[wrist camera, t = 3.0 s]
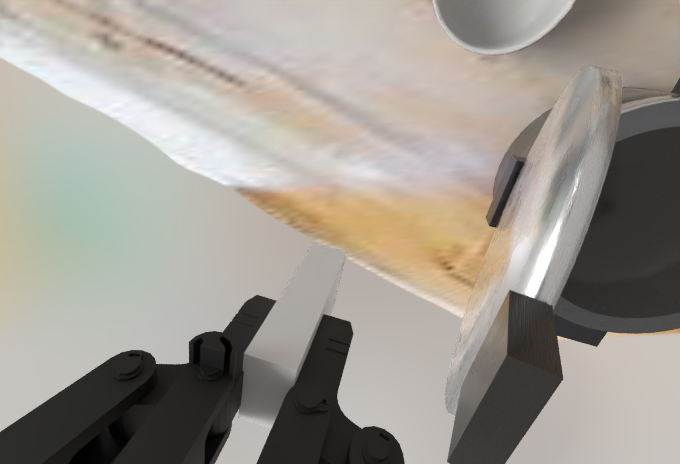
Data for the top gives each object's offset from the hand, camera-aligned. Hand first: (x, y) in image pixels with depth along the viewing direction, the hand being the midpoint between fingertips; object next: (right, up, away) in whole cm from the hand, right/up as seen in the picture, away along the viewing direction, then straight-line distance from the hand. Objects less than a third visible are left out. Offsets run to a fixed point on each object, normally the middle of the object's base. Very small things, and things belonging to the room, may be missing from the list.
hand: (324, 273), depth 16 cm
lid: (+11, 0, +4) cm, 12 cm away
